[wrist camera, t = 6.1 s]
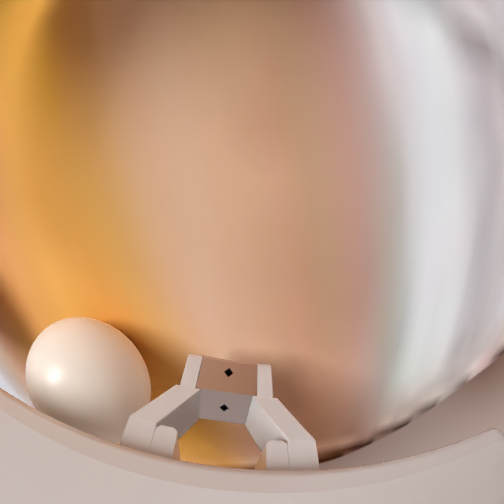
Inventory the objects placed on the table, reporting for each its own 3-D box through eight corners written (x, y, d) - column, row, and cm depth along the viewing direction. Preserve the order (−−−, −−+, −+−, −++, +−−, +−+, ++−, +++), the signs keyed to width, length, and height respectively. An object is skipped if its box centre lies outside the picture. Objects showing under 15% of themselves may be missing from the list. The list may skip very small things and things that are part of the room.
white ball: (23, 436, 4) (-1, 307, 7) (77, 474, 7) (39, 380, 10) (178, 379, 8) (114, 275, 11) (176, 433, 11) (124, 351, 14)
